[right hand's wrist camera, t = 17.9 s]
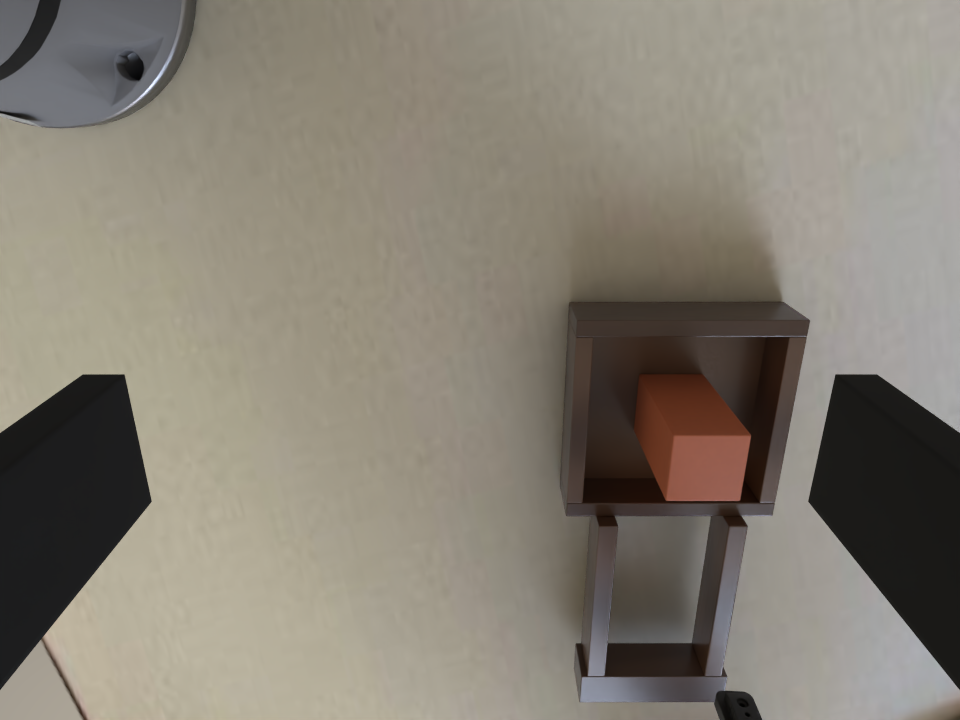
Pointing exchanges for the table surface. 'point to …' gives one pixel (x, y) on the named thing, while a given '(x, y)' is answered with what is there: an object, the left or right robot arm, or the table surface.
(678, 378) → the terracotta block
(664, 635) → the table surface
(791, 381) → the walnut tray
